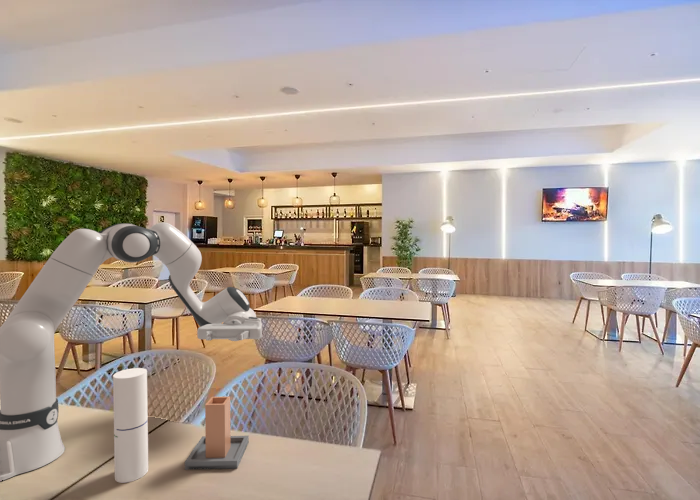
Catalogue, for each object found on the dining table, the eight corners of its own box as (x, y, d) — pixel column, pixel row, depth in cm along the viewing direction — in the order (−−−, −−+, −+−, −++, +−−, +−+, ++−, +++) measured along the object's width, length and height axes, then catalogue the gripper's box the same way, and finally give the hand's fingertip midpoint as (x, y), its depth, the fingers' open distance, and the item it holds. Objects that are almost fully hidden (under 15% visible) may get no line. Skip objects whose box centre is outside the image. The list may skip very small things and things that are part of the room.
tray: (184, 469, 93) (184, 461, 93) (202, 443, 105) (202, 436, 105) (237, 468, 93) (237, 460, 93) (248, 442, 105) (248, 435, 105)
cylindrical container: (133, 484, 87) (131, 379, 87) (107, 480, 89) (105, 377, 88) (154, 466, 94) (153, 369, 94) (130, 462, 96) (129, 367, 95)
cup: (205, 457, 96) (205, 404, 96) (212, 447, 101) (211, 396, 101) (225, 457, 97) (224, 404, 96) (230, 446, 102) (230, 396, 101)
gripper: (205, 318, 127) (189, 327, 113) (265, 318, 127) (256, 327, 114) (205, 336, 127) (189, 348, 113) (265, 336, 128) (256, 347, 114)
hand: (223, 337), depth 113 cm, fingers open, 8 cm apart
